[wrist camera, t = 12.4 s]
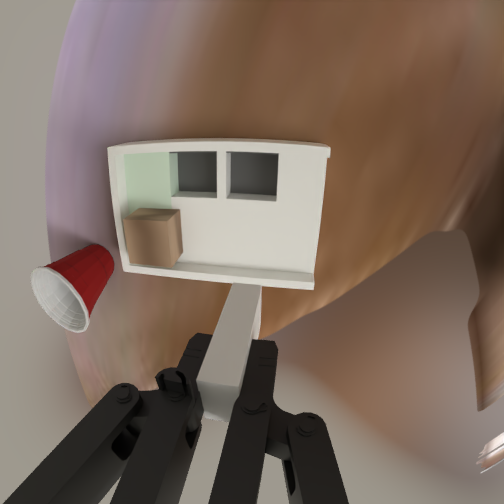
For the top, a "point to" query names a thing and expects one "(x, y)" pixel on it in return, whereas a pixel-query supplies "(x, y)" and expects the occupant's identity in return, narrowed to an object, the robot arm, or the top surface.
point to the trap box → (227, 205)
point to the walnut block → (154, 236)
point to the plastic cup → (73, 286)
